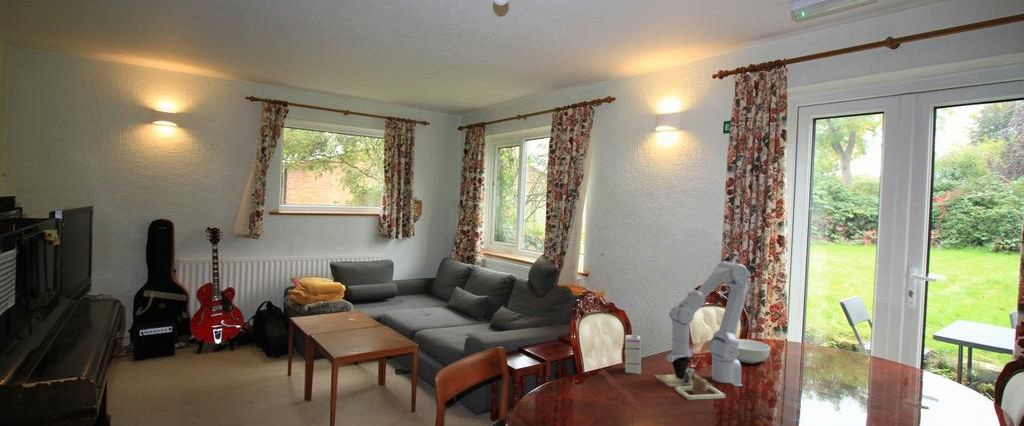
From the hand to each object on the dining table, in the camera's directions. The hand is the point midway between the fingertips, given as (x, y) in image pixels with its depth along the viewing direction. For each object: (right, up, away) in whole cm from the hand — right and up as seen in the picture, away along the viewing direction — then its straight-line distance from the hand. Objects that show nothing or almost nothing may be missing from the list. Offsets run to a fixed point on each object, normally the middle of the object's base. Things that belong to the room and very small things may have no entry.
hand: (679, 378), depth 177 cm
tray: (+3, -3, -11) cm, 12 cm away
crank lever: (+3, -1, 0) cm, 3 cm away
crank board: (+2, -3, +2) cm, 4 cm away
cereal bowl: (+40, -4, +32) cm, 51 cm away
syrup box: (-14, -3, +12) cm, 19 cm away
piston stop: (+3, -2, -11) cm, 12 cm away
